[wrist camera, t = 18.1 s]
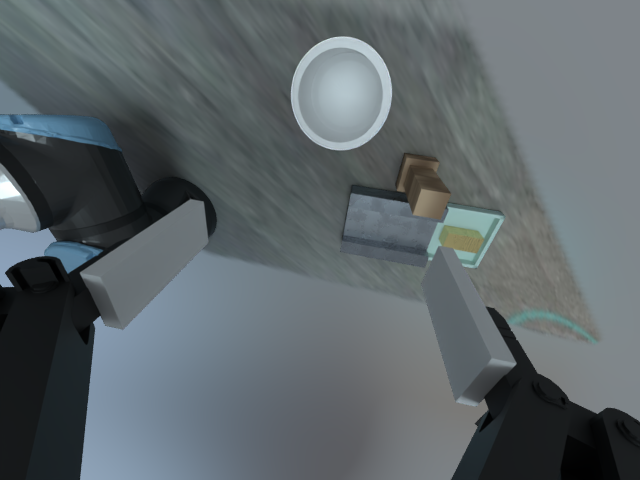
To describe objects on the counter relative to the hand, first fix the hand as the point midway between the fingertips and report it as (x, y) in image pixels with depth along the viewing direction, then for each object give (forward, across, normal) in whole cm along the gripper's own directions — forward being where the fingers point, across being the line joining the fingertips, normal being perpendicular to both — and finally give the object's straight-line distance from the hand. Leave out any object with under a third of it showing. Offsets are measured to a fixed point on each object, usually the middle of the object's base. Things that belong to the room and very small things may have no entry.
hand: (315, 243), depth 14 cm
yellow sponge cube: (+30, +23, -13) cm, 41 cm away
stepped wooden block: (+33, +12, -3) cm, 35 cm away
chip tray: (+32, +24, -13) cm, 42 cm away
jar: (+33, -1, +6) cm, 34 cm away
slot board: (+33, +11, -13) cm, 37 cm away
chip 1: (+32, +22, -13) cm, 41 cm away
